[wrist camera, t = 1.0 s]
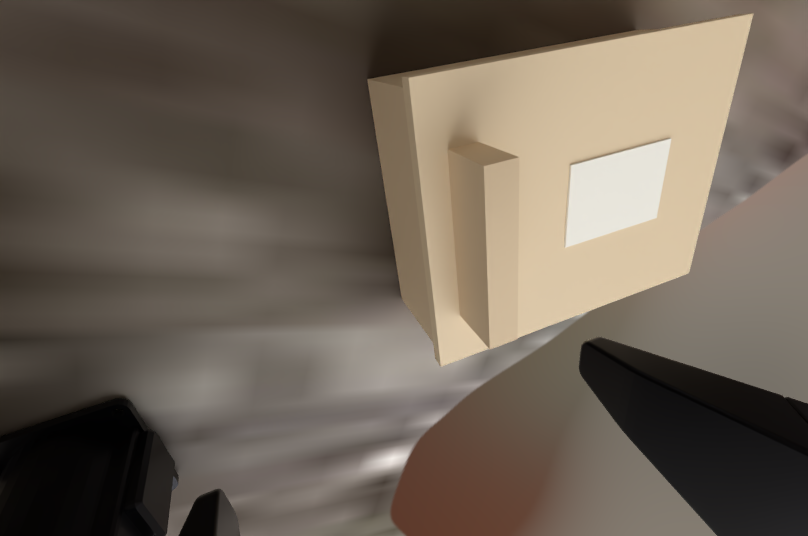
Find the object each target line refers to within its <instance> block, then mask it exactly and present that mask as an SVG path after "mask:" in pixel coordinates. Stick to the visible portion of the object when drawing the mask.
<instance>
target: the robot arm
mask: <svg viewBox="0 0 808 536" xmlns="http://www.w3.org/2000/svg"><path fill="white" fill-rule="evenodd" d="M579 370H580V374H581V376H582V377H583V379H584V380H585V381H586V383H587V384H588V386H589V387H590V388H591V390H592V391H593V392H594V394H595V395H596V396H597V397H598V399H599V400H600V402H601V403H602V404H603V406H604V407H605V408H606V410H607V411H608V412H609V414H610V415H611V416H612V418H613V419H614V420H615V422H616V423H617V424H618V425H619V427H620V428H621V429H622V431H623V432H624V433H625V434H626V435H627V436H628V437H629V439H630V440H631V441H632V442H633V443H634V444H635V445H636V446H637V448H638V449H639V450H640V451H641V452H642V453H643V454H644V455H645V456H646V457H647V459H648V460H649V461H650V462H651V463H652V464H653V465H654V466H655V468H656V469H657V470H658V471H659V472H660V473H661V474H662V475H663V476H664V477H665V479H666V480H667V481H668V482H669V483H670V484H671V485H672V486H673V487H674V489H675V490H677V492H678V493H679V494H680V495H681V496H682V497H683V498H684V500H685V501H686V502H687V503H688V504H689V505H690V506H691V507H692V508H693V510H694V511H695V512H696V513H697V514H698V515H699V516H700V517H701V518H702V519H703V521H704V522H705V523H706V524H707V525H708V526H709V527H710V528H711V529H712V530H713V532H714V533H715V534H716V535H717V536H808V404H807V403H804V402H801V401H798V400H795V399H792V398H789V397H785V398H784V397H783V396H782V395H779V394H776V393H773V392H770V391H767V390H764V389H760V388H758V387H754V386H751V385H748V384H745V383H742V382H739V381H736V380H732V379H730V378H726V377H724V376H720V375H717V374H714V373H711V372H708V371H705V370H702V369H699V368H696V367H693V366H689V365H686V364H683V363H680V362H677V361H674V360H671V359H668V358H665V357H661V356H658V355H655V354H652V353H649V352H646V351H643V350H640V349H637V348H634V347H630V346H627V345H624V344H621V343H618V342H615V341H612V340H609V339H606V338H602V337H594V338H592V339H589V340H587V341H584V342H583V343H582V345H581V352H580V361H579ZM114 409H122V410H123V411H116V410H114ZM174 465H175V463H174V460H173V459H172V457H171V456H170V454H169V452H168V451H167V449H166V448H165V446H164V445H163V443H162V441H161V440H160V438H159V437H158V435H157V434H156V432H155V431H153V430H151V429H148V428H147V426H146V425H145V423H144V422H143V420H142V418H141V417H140V415H139V414H138V412H137V411H136V409H135V408H134V406H133V405H132V403H131V402H130V401H129V400H127V399H122V398H119V399H114V400H111V401H108V402H105V403H102V404H99V405H96V406H93V407H89V408H86V409H83V410H80V411H77V412H74V413H71V414H68V415H65V416H62V417H59V418H56V419H53V420H50V421H47V422H44V423H41V424H38V425H35V426H32V427H29V428H26V429H23V430H20V431H16V432H13V433H10V434H7V435H4V436H1V437H0V536H165V535H166V534H167V527H168V518H169V509H170V500H171V492H172V490H174V489H175V488H176V487H177V485H178V479H179V477H178V474H177V473H176V471H175V469H174ZM179 536H240V531H239V524H238V519H237V516H236V513H235V511H234V509H233V507H232V506H231V504H230V502H229V500H228V499H227V497H226V495H225V493H224V492H223V491H222V490H221V489H215V490H213V491H210V492H208V493H205V494H203V495H201V496H199V497H198V498H197V499H196V501H195V502H194V504H193V507H192V509H191V511H190V513H189V515H188V517H187V519H186V521H185V523H184V526H183V528H182V530H181V532H180V534H179Z"/></svg>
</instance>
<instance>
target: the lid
mask: <svg viewBox="0 0 808 536" xmlns="http://www.w3.org/2000/svg"><path fill="white" fill-rule="evenodd" d="M752 17H753V14H738V15H732V16H727V17H721V18H716V19H710V20H705V21H700V22H694V23H689V24H683V25H678V26H673V27H667V28H662V29H656V30H651V31H646V32H640V33H635V34H629V35H624V36H619V37H613V38H608V39H602V40H597V41H592V42H586V43H581V44H575V45H570V46H565V47H559V48H554V49H548V50H543V51H538V52H532V53H527V54H521V55H516V56H511V57H505V58H500V59H494V60H489V61H484V62H478V63H473V64H467V65H462V66H456V67H451V68H446V69H440V70H435V71H429V72H424V73H419V74H413V75H408V76H402V84H403V93H404V101H405V109H406V118H407V126H408V135H409V143H410V151H411V160H412V168H413V176H414V185H415V193H416V201H417V210H418V218H419V227H420V235H421V243H422V252H423V260H424V268H425V277H426V285H427V293H428V302H429V310H430V318H431V327H432V335H433V344H434V352H435V359H436V360H437V362H438V363H439V365H440V366H444V365H447V364H449V363H452V362H455V361H457V360H460V359H463V358H465V357H468V356H471V355H473V354H476V353H479V352H481V351H484V350H487V349H493V348H495V347H498V346H500V345H503V344H506V343H508V342H511V341H514V340H516V339H518V337H521V336H524V335H526V334H529V333H532V332H534V331H537V330H540V329H542V328H545V327H548V326H550V325H553V324H555V323H558V322H561V321H563V320H566V319H569V318H571V317H574V316H577V315H579V314H582V313H585V312H587V311H590V310H593V309H595V308H598V307H600V306H603V305H606V304H608V303H611V302H614V301H616V300H619V299H622V298H624V297H627V296H630V295H632V294H635V293H637V292H640V291H643V290H646V289H648V288H651V287H653V286H656V285H659V284H662V283H664V282H667V281H669V280H672V279H675V278H677V277H680V276H682V275H685V274H688V273H689V270H690V266H691V263H692V258H693V255H694V250H695V246H696V242H697V238H698V234H699V230H700V226H701V222H702V218H703V214H704V210H705V206H706V202H707V198H708V194H709V190H710V186H711V182H712V178H713V174H714V170H715V166H716V162H717V158H718V154H719V150H720V146H721V142H722V138H723V134H724V130H725V126H726V122H727V118H728V114H729V110H730V106H731V102H732V98H733V94H734V90H735V86H736V82H737V78H738V74H739V70H740V66H741V62H742V58H743V54H744V50H745V46H746V42H747V38H748V34H749V30H750V26H751V21H752Z"/></svg>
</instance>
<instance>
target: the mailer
mask: <svg viewBox="0 0 808 536" xmlns="http://www.w3.org/2000/svg"><path fill="white" fill-rule="evenodd" d="M651 30H656V29H650V30H634V31H628V32H623V33H617V34H612V35H606V36H601V37H596V38H590V39H585V40H579V41H574V42H568V43H563V44H557V45H552V46H546V47H541V48H535V49H530V50H524V51H519V52H513V53H508V54H502V55H497V56H492V57H486V58H481V59H475V60H470V61H464V62H459V63H453V64H448V65H442V66H437V67H431V68H426V69H420V70H415V71H409V72H404V73H398V74H393V75H387V76H382V77H377V78H371V79H367V81H368V87H369V94H370V100H371V106H372V113H373V119H374V125H375V132H376V138H377V144H378V151H379V157H380V163H381V170H382V176H383V182H384V189H385V195H386V201H387V208H388V214H389V220H390V227H391V233H392V239H393V246H394V252H395V258H396V265H397V271H398V277H399V284H400V290H401V297H402V299H403V301H404V302H405V304H406V305H407V307H408V308H409V309H410V311H411V312H412V314H413V315H414V316H415V318H416V319H417V321H418V322H419V323H420V325H421V326H422V328H423V329H424V330H425V332H426V333H427V335H428V336H429V338H430V339H431V340H432V342H433V335H432V327H431V318H430V310H429V302H428V293H427V285H426V277H425V268H424V260H423V252H422V243H421V235H420V227H419V218H418V210H417V201H416V193H415V185H414V176H413V168H412V160H411V151H410V143H409V135H408V126H407V118H406V109H405V101H404V93H403V84H402V76H408V75H413V74H419V73H424V72H429V71H435V70H440V69H446V68H451V67H456V66H462V65H467V64H473V63H478V62H484V61H489V60H494V59H500V58H505V57H511V56H516V55H521V54H527V53H532V52H538V51H543V50H548V49H554V48H559V47H565V46H570V45H575V44H581V43H586V42H592V41H597V40H602V39H608V38H613V37H619V36H624V35H629V34H635V33H640V32H646V31H651Z"/></svg>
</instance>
